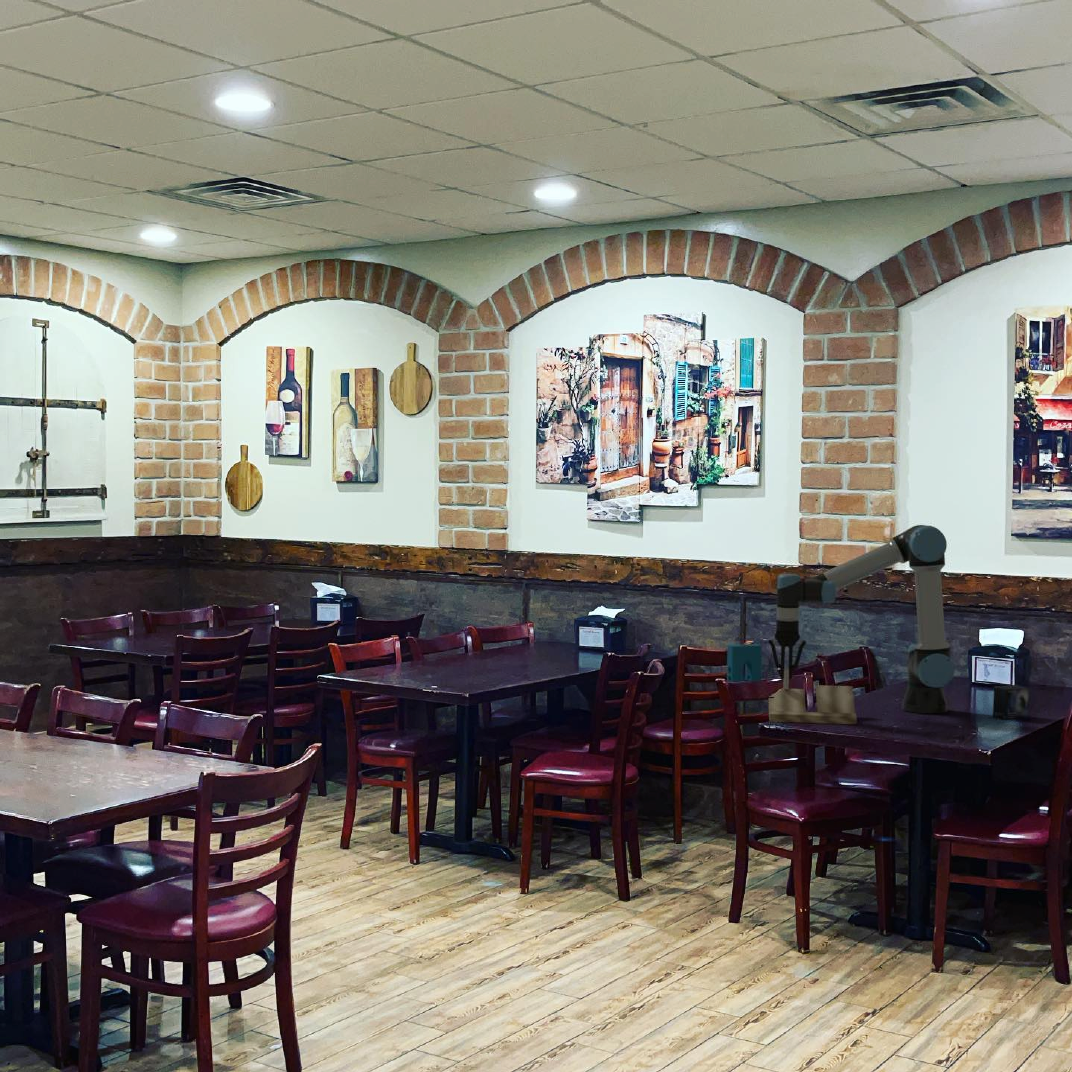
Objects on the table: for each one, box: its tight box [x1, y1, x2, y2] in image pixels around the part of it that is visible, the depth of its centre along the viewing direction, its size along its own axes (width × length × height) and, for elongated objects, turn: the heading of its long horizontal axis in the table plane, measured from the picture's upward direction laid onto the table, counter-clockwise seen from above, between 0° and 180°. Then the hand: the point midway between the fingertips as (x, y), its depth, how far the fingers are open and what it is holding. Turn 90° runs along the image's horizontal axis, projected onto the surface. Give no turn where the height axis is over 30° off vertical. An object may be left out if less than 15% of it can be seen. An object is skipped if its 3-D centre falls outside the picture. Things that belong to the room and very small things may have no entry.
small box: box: [992, 684, 1030, 720], centre depth 459 cm, size 11×6×10 cm, turn 117°
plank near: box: [815, 684, 856, 714], centre depth 457 cm, size 12×13×2 cm
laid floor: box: [768, 710, 858, 725], centre depth 449 cm, size 28×6×2 cm, turn 82°
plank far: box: [768, 687, 807, 712], centre depth 459 cm, size 12×13×2 cm
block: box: [726, 643, 763, 703], centre depth 490 cm, size 12×5×20 cm, turn 110°
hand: (785, 688), depth 463 cm, fingers closed
